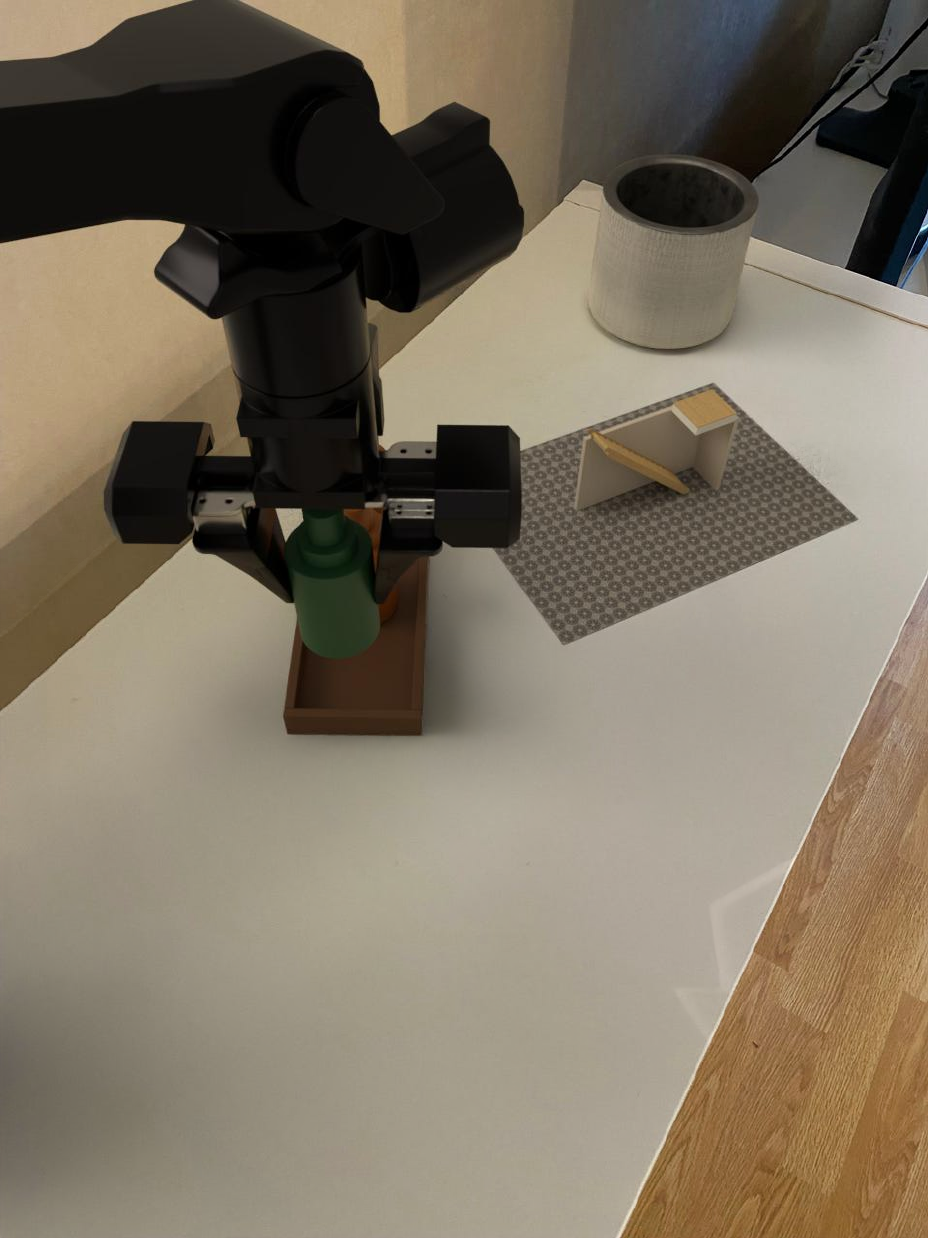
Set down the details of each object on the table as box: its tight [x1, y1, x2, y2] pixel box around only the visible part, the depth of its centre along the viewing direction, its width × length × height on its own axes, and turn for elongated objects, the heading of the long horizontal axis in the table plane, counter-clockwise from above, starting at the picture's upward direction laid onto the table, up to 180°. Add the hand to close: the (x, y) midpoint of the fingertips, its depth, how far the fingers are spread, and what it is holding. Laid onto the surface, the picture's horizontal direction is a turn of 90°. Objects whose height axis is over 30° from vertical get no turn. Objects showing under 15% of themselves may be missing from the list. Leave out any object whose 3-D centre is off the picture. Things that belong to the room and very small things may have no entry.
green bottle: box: [284, 509, 380, 659], centre depth 52 cm, size 4×4×10 cm
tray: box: [282, 557, 430, 737], centre depth 67 cm, size 20×8×2 cm, turn 0°
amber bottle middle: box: [344, 508, 398, 624], centre depth 64 cm, size 4×4×10 cm
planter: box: [587, 153, 760, 350], centre depth 85 cm, size 12×13×11 cm
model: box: [573, 388, 740, 511], centre depth 72 cm, size 3×11×8 cm, turn 118°
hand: (336, 597), depth 54 cm, fingers closed on green bottle, 4 cm apart
